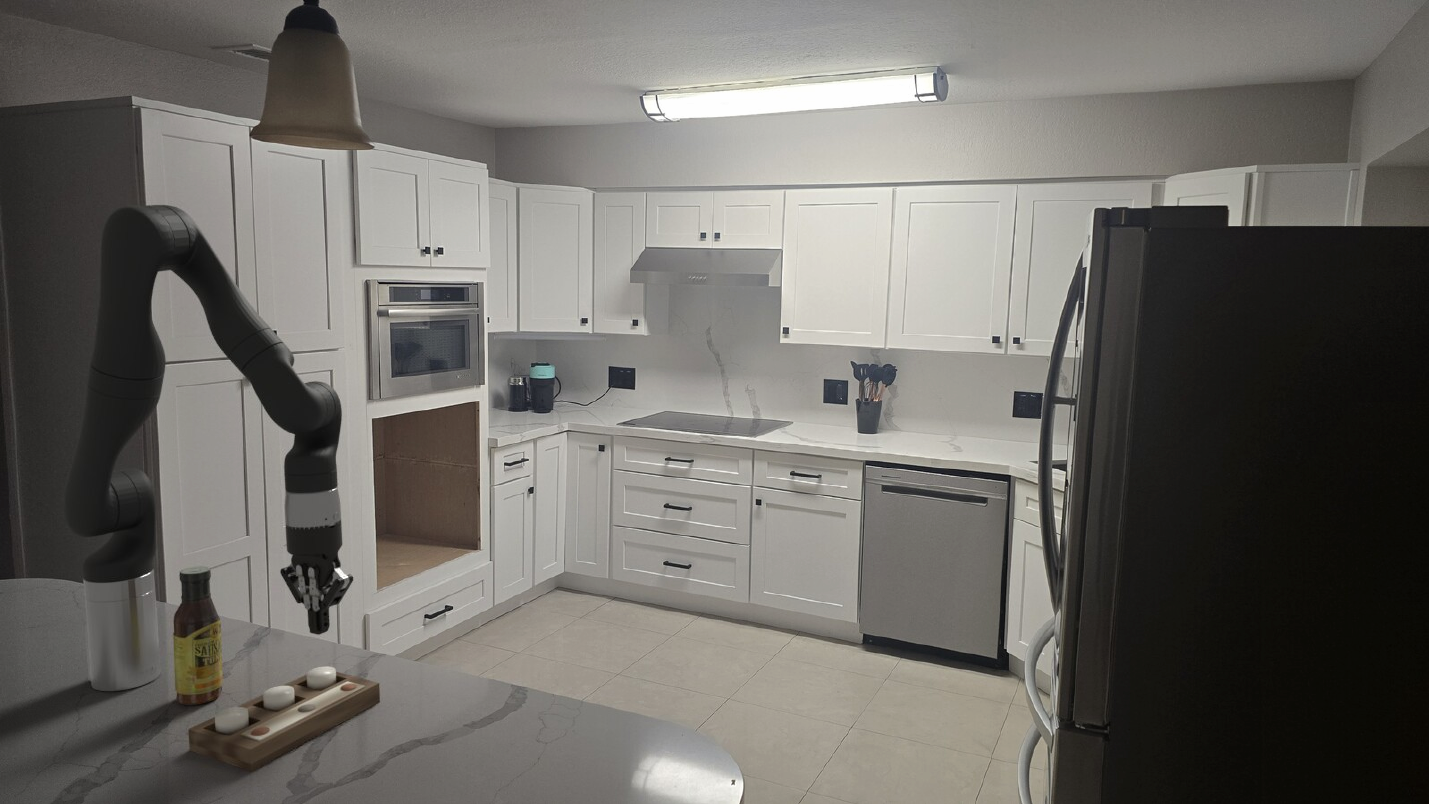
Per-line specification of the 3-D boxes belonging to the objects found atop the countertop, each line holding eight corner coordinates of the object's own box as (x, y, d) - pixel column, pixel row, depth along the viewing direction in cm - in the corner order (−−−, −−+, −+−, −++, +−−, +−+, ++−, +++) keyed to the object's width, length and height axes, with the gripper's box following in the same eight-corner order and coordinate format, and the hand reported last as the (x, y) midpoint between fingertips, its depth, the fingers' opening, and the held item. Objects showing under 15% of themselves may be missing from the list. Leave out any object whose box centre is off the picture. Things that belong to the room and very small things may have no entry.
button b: (257, 707, 130) (256, 694, 130) (281, 696, 134) (280, 683, 133) (277, 713, 128) (276, 700, 128) (301, 702, 132) (300, 688, 132)
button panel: (189, 750, 123) (188, 726, 123) (322, 685, 143) (321, 665, 142) (251, 771, 118) (250, 746, 118) (379, 701, 138) (379, 680, 137)
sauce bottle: (202, 709, 135) (194, 578, 132) (165, 704, 136) (157, 575, 133) (234, 690, 141) (227, 565, 138) (198, 686, 142) (191, 562, 140)
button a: (301, 687, 137) (300, 674, 136) (322, 676, 140) (322, 664, 140) (320, 692, 135) (320, 679, 135) (342, 682, 139) (341, 669, 138)
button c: (208, 730, 123) (208, 716, 123) (235, 718, 127) (234, 704, 127) (229, 737, 122) (228, 723, 121) (255, 724, 125) (254, 710, 125)
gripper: (259, 519, 134) (266, 633, 136) (325, 529, 128) (331, 648, 130) (302, 508, 140) (308, 617, 142) (366, 517, 135) (371, 631, 137)
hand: (319, 632), depth 136 cm, fingers closed
